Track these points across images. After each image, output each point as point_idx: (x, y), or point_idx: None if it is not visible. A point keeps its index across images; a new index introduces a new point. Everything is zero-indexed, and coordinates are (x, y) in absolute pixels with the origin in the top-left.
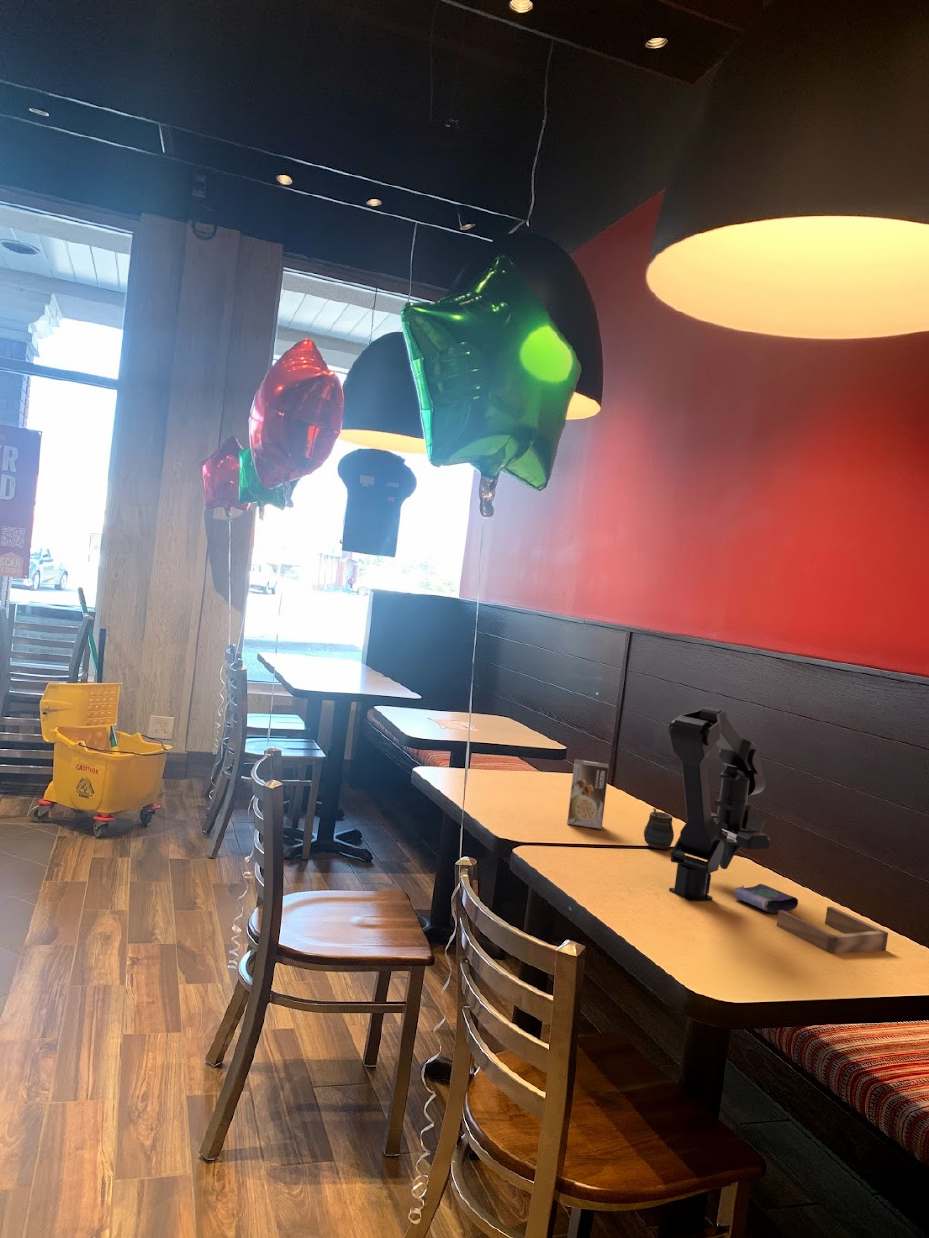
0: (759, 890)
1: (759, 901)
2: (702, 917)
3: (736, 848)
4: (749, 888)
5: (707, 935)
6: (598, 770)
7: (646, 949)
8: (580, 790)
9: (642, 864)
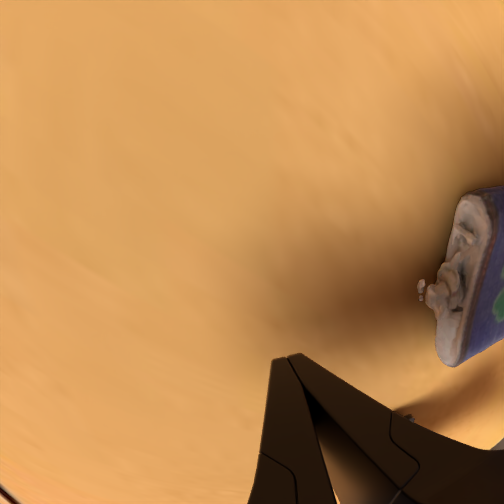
0: (502, 277)
1: None
2: (440, 433)
3: (457, 461)
4: (478, 310)
5: (473, 430)
6: None
7: None
8: None
9: (58, 462)
